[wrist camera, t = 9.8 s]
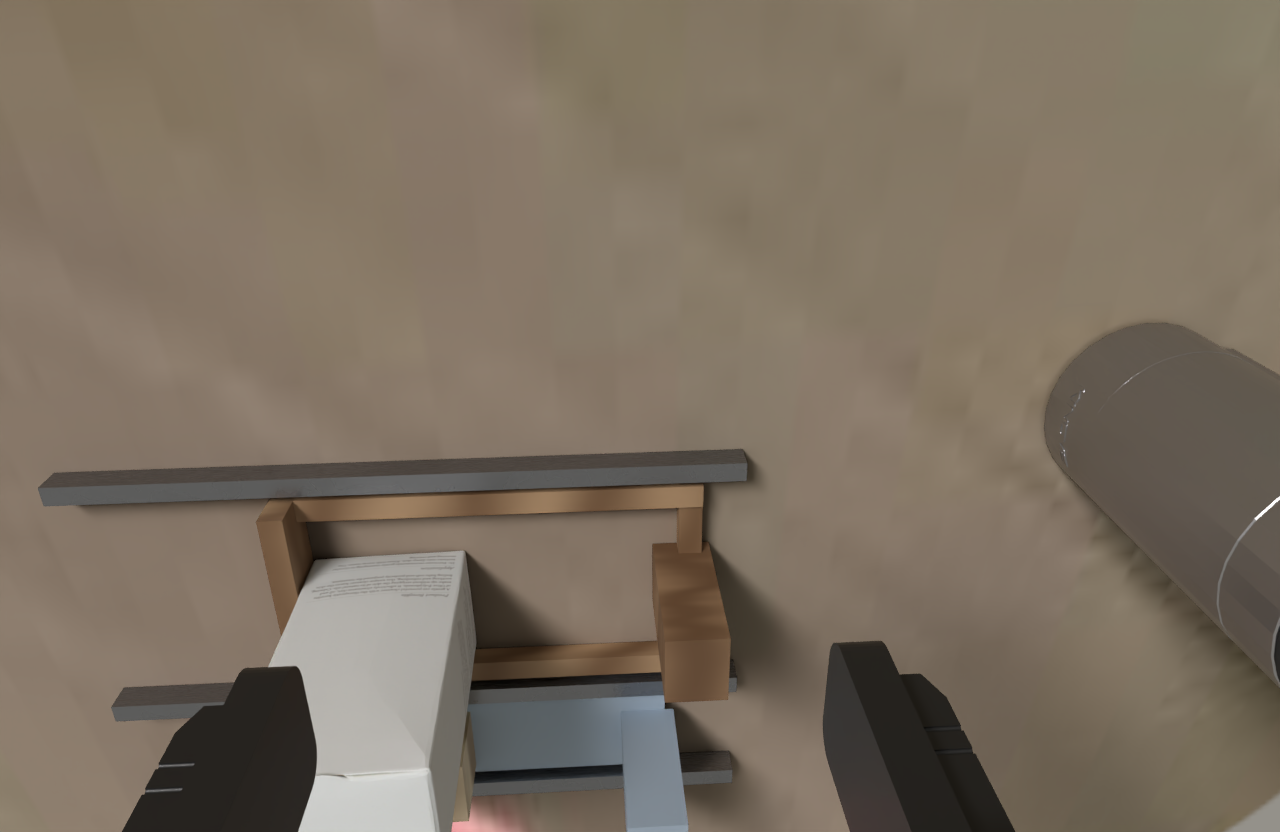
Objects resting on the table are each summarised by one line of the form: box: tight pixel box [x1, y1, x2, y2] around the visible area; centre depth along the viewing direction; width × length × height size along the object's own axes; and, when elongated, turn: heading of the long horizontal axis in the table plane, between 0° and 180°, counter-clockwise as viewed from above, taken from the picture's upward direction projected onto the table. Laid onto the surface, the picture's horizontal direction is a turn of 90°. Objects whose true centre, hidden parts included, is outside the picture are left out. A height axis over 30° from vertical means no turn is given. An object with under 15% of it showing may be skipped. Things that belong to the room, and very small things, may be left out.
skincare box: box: [268, 551, 476, 832], centre depth 42 cm, size 8×7×16 cm
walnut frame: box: [256, 482, 731, 703], centre depth 45 cm, size 22×12×8 cm, turn 90°
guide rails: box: [38, 449, 747, 796], centre depth 50 cm, size 34×22×2 cm, turn 90°
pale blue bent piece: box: [467, 695, 688, 832], centre depth 49 cm, size 18×5×9 cm, turn 90°
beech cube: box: [453, 712, 476, 822], centre depth 50 cm, size 4×4×4 cm
